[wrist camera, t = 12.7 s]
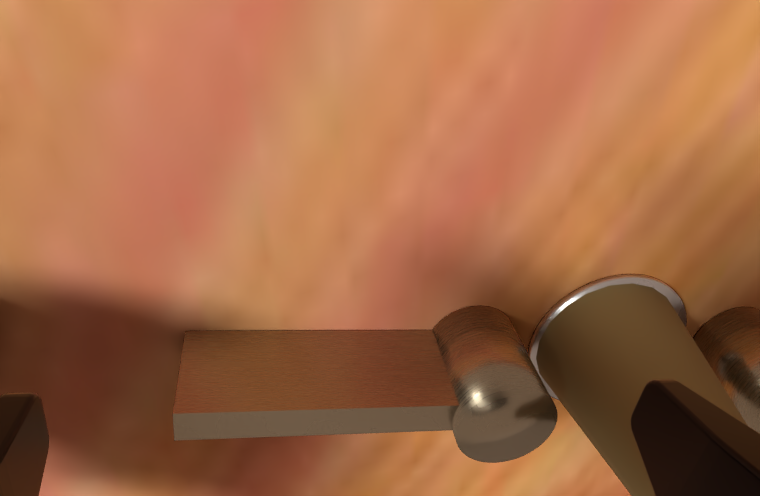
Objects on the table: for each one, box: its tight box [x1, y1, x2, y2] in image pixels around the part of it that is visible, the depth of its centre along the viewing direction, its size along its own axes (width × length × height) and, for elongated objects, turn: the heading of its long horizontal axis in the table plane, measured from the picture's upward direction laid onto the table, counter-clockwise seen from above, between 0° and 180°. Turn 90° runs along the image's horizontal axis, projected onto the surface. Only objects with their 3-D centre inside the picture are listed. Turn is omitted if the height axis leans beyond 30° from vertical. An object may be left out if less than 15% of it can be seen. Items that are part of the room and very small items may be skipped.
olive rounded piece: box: [536, 283, 748, 496], centre depth 22 cm, size 6×6×11 cm
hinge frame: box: [173, 274, 760, 463], centre depth 25 cm, size 34×7×4 cm, turn 83°
